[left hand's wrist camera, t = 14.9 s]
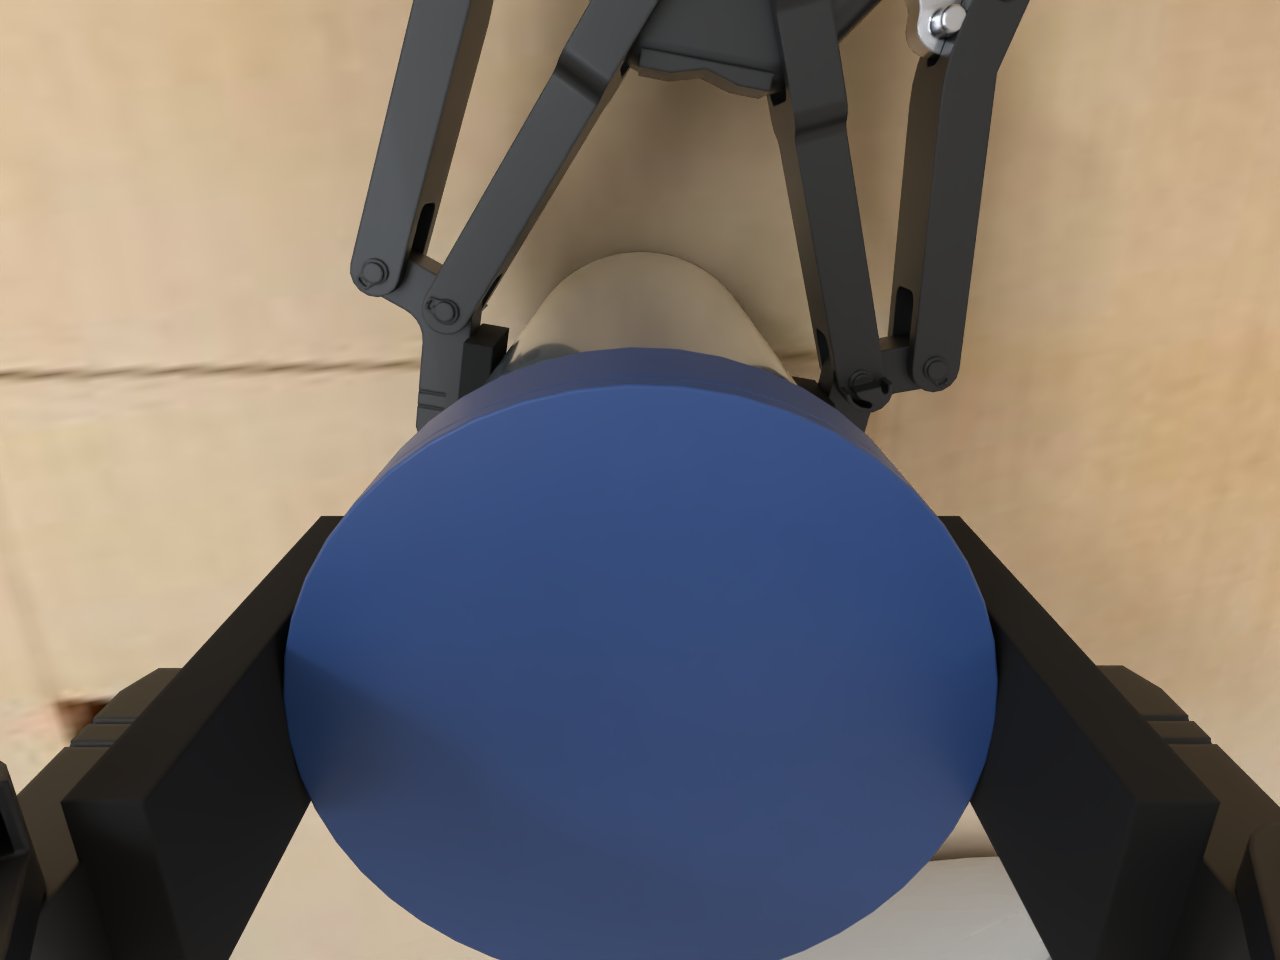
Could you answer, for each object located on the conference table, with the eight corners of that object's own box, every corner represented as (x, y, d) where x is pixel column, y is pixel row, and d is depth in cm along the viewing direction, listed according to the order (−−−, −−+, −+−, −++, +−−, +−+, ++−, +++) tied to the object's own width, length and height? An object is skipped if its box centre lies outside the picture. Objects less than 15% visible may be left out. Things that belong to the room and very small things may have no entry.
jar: (590, 517, 31) (522, 988, 13) (479, 318, 28) (208, 574, 10) (794, 424, 29) (1023, 806, 12) (697, 207, 27) (807, 282, 9)
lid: (951, 840, 14) (1000, 947, 12) (422, 904, 14) (388, 1017, 12) (933, 295, 10) (997, 323, 9) (255, 401, 11) (176, 451, 9)
